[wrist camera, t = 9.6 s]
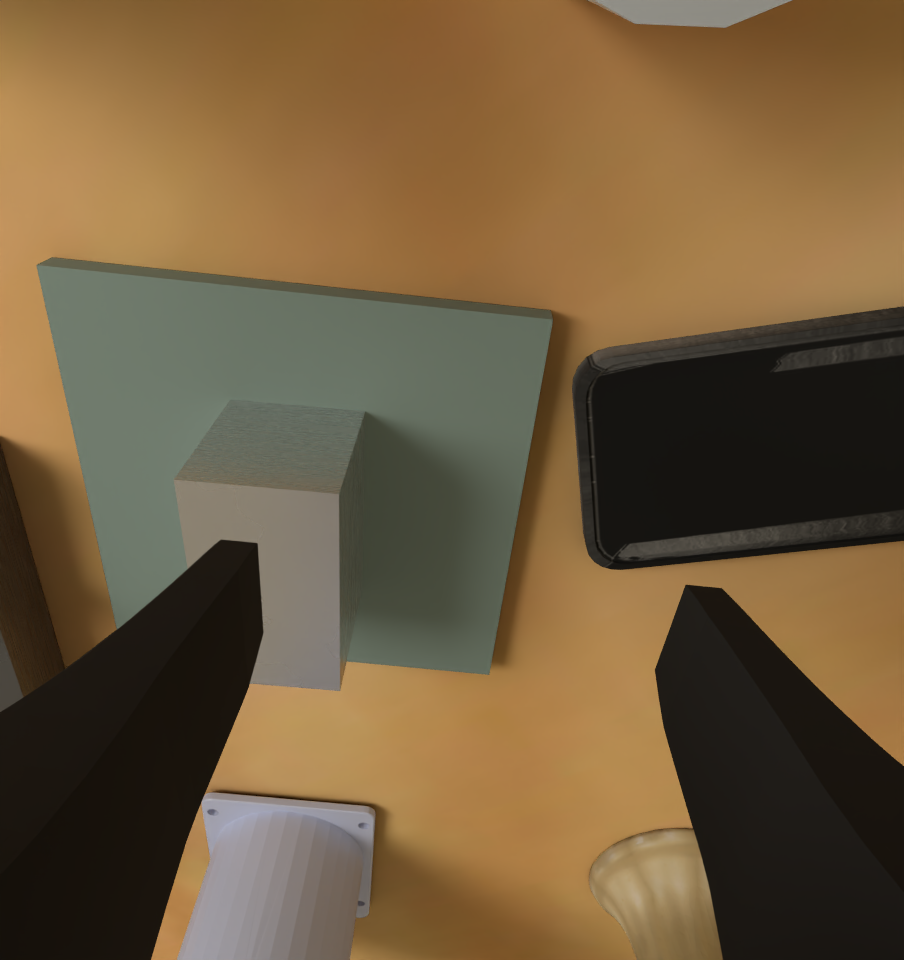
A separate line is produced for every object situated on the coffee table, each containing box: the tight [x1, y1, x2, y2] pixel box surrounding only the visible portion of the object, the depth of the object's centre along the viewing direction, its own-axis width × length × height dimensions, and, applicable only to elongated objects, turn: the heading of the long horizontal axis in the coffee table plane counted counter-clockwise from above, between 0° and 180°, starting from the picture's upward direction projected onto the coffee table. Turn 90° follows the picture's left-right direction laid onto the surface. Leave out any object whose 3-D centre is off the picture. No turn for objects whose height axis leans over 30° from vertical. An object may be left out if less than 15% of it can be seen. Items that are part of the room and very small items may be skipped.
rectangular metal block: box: [174, 399, 365, 691], centre depth 21 cm, size 7×4×4 cm, turn 175°
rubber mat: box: [37, 257, 553, 675], centre depth 23 cm, size 14×14×1 cm
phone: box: [572, 307, 904, 570], centre depth 21 cm, size 8×1×15 cm
